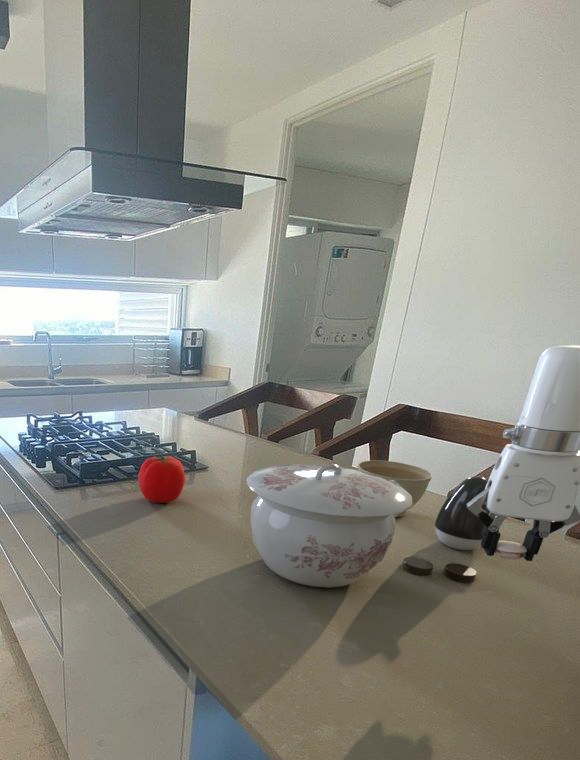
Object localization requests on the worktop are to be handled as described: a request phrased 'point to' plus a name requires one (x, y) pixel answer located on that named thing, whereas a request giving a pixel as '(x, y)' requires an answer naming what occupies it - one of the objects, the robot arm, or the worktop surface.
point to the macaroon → (510, 550)
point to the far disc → (417, 566)
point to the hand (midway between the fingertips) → (506, 553)
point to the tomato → (161, 479)
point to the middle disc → (459, 572)
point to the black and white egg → (462, 516)
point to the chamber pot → (323, 521)
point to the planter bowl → (400, 476)
